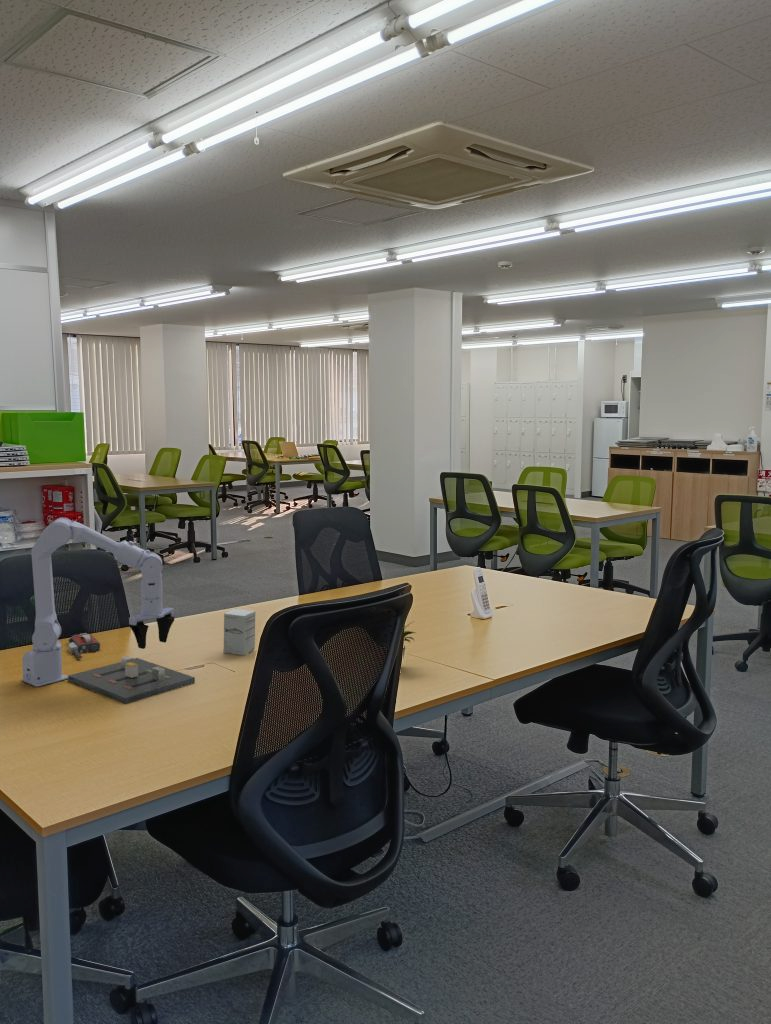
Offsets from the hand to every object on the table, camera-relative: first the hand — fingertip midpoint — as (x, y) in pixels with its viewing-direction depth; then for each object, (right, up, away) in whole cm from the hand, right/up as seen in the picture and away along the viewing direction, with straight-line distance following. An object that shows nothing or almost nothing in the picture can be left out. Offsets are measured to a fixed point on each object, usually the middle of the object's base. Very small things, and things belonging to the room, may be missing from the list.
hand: (152, 644), depth 231 cm
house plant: (+66, -9, +13) cm, 68 cm away
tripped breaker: (-4, -7, -6) cm, 10 cm away
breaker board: (-4, -9, -6) cm, 11 cm away
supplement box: (+20, -6, +25) cm, 33 cm away
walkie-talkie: (-27, -6, +21) cm, 35 cm away
